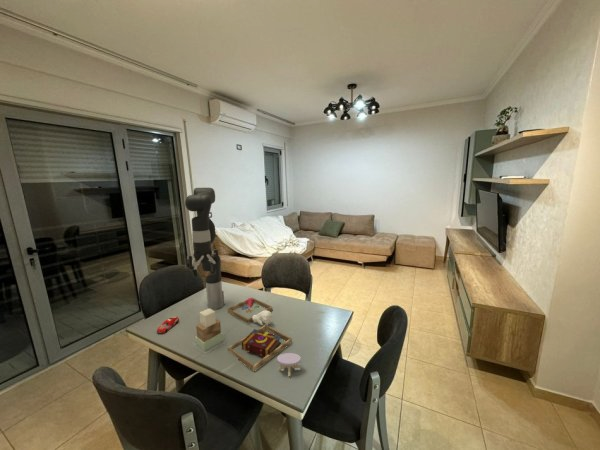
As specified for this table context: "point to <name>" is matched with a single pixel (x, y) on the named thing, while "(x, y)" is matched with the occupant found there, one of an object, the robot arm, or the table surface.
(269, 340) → the decorative book
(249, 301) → the toy pieces
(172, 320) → the race car
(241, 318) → the pieces tray
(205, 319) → the cream brick
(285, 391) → the table surface
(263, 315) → the cream lumpy sculpture
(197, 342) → the base brick
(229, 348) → the book tray
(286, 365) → the toy table
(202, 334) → the walnut brick
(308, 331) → the table surface
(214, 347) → the baseplate
